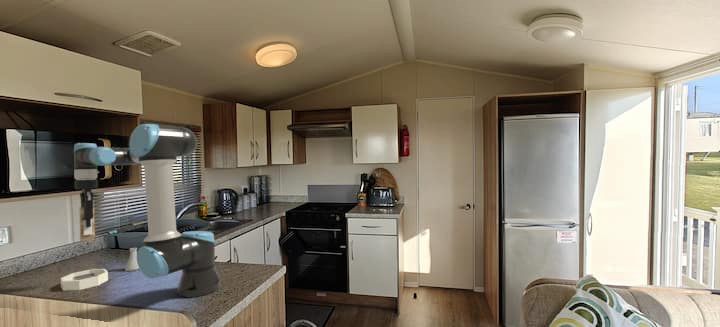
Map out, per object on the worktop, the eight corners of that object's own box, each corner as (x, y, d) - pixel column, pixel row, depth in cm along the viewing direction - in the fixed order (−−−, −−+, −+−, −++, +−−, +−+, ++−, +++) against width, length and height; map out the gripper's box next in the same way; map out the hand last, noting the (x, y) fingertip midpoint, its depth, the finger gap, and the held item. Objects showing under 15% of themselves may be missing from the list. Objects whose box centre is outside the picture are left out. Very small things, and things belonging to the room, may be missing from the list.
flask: (127, 272, 150) (127, 251, 150) (122, 269, 154) (121, 249, 154) (145, 268, 156) (144, 247, 156) (139, 265, 160) (139, 245, 160)
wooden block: (94, 239, 138) (94, 206, 138) (81, 241, 135) (80, 208, 135) (93, 238, 140) (93, 206, 140) (80, 240, 136) (79, 207, 136)
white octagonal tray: (110, 282, 138) (110, 273, 138) (64, 293, 127) (64, 283, 127) (102, 275, 147) (102, 266, 147) (59, 284, 136) (59, 275, 136)
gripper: (101, 179, 135) (102, 235, 135) (93, 178, 145) (94, 229, 145) (77, 180, 129) (78, 238, 129) (71, 179, 139) (72, 232, 140)
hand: (87, 233), depth 137 cm, fingers closed on wooden block, 2 cm apart
